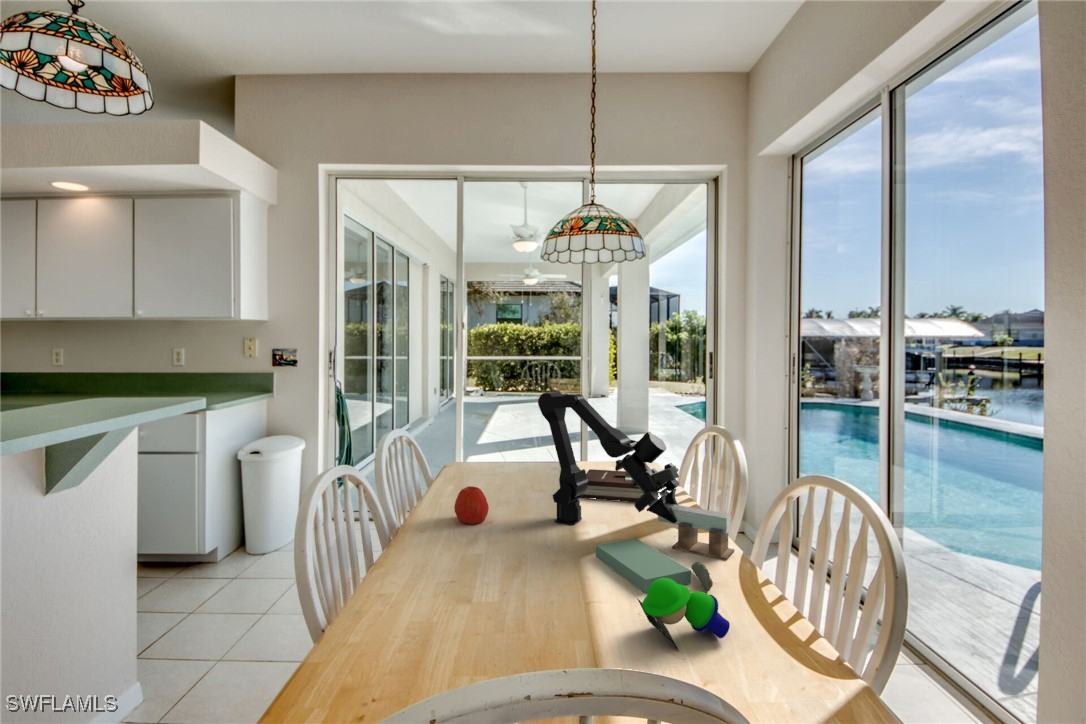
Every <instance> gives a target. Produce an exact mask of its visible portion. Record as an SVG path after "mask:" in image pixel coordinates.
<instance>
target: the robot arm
mask: <svg viewBox="0 0 1086 724" xmlns="http://www.w3.org/2000/svg"><path fill="white" fill-rule="evenodd" d="M537 405H538V408H539V410H540V412H541V414H542V415H541V416H543V417H544V419H545V420H546V421H547V423H548V424H549V428H550V432H551V436H552V440H553V444H554V447H555V452H556V456H557V461H558V464H559V467H560V472H559V477H558V482H559V488H558V490H557V491H555V492H554V494H552V499H553V502H554V503H556V518H555V519H554V520H553V521H554V522H555V523H559V524H566V525H573V526H575V525H576V524H577V523H579V521H580V522H581V520H582V519H583V518H582V505H580V504H581V503H580V501H581V500H580V499H582V496H583V493H585V492H586V490H587V488H588V484H587V483H588V482H589V481H588V479H587V477H586V473H587V471H586V469H585V468H584V469H580V467H579V466H578V464H577V462H576V458H575V455H574V451H573V450H574V449H573V447H572V443H571V439H570V436H569V430H568V428H567V424H566V419H565V418H566V412H567V409H568V408H571V409H572V411H574V413H576V415H578V417H579V419H581V421H583V422H584V423H585V425H587V427H589V429H590V430H591V431H593V433H594V434H595V435H596V437H597V438H598V439H599V444H600V446H601V448H602V449H603V450H604V452H605V453H606V454H607V455H608V456H609V457H610V458H615V459H616V458H620V457H621V456H623V458H621V459H617V460H615V467H614V471H621V470H622V469H623V471H626V472H627V474H628V475H629V476H630V477H631V479H632V480H633V481H634V483H633V486H634V487H636V486H638V487H639V489H640V490H641V491H642V492H643V495H642V496H641V497H640V498H639V499H637V500H636V501H635V502H634V508H635V509H636V510H637V512H638V513H641V512H643V511H644V510H645V508H646V512H650V513H653V514H655V515H657V517H658V516H660V517H662V518H664V519H666V520H668V521H670V522H672V523H676V522H677V520H676V518H675V516H674V515H673V513H672V512H671V510H670V509H669V507H668V506H667V504H666V503H669V504H675V505H679V504H678V503H677V502H678V501H677V500H676V491H677V487H679V486H680V483H679V481H678V480H677V478H679V477H680V476H679V467H676V465H674V464H673V463H672V462H671V463H668V464H665V465H664V468H663V469H662V470H659V471H658V470H657V469H656V468H650V467H649V465H648V464H652V463H654V462H655V461H656V460H657V459H658V458H659V457H660V456H661V455H662V454H663V453H664V452H665V451H666V450H667V446H666V445H667V444H666V443H665V442H664V440H663V439H662V438H660V437H659V436H657V435H656V434H653V433H652V432H651V431H647V432H646V433H644V434H643V436H642V437H641V438H640V439H639V440H634V439H631V438H630V437H629V436H628V435H626V434H625V433H624V432H623V431H621V430H619V429H617V428H616V427H614V426H612V425H611V424H609V423H608V422H607V421H606V419H605V418H604V417H602V415H601V414H600V413H599V412H598V411H597V410H596V409H595V408H594V407H593V406H592V405H591V404H590V403H589V402H588V401H587V400H586V398H585V397H584V395H582V394H581V393H573V394H572V393H570V394H569V393H566V394H563V393H562V392H560V391H549V392H548V391H547V392H544V393H541V394H540V395H539V398H538V400H537ZM631 452H633V453H631ZM629 453H631V454H629ZM647 463H648V464H647ZM647 507H648V508H647Z"/></svg>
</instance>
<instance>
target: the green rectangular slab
mask: <svg viewBox="0 0 1086 724" xmlns="http://www.w3.org/2000/svg"><path fill="white" fill-rule="evenodd" d="M595 558H597V559H598V560H599V561H601V562H603V564H605V565H607V566H608V567H609V568H610V569H612V570H613V571H614V572H616V573H618V574H619V575H620V576H621V577H623V578H624V579H625V580H626V581H627V582H630V583H631V584H632V585H634V586H635V587H636V588H638V589H639V590H640V591H641V592H643V593H645V594H647V591H648V588H649V586H650V585H651V583H652V582H654V581H655V580H657V579H660V578H668V579H671V580H673V581H675V582H676V583H677V584H681V585H684V586H686V585H690V584H691V583H692V569H689V568H688V567H686V566H684V565H683V564H681V563H680V562H677V561H676V560H675V559H672V558H671V557H669V556H668V555H665V554H664V553H662V552H661V551H659V550H657V549H655V548H654V547H652V546H650V545H648V544H647V543H645V542H644V541H642V540H640V539H638V538H637V537H634V538H629V539H628V538H627V539H623V540H617V541H611V542H609V541H608V542H605V543H599V544H595Z"/></svg>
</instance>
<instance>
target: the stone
mask: <svg viewBox="0 0 1086 724" xmlns="http://www.w3.org/2000/svg"><path fill="white" fill-rule="evenodd" d="M690 568H691V569H690V570H691V571H692V573H694V574H695V576H696V578H697V580H698V581H699V583H700V585H701V587H702V588H704V589H703V590H704V592H705V591H706V593H709V592H710V590H711V588H712V587H713V584H714V583H713V579H712V578H711V576H710V572H709V570H708V568H707V566H706V565H705V564H704V563H702V562H700V561H695V562H694V563H692V564H691V567H690Z"/></svg>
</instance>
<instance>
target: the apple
mask: <svg viewBox="0 0 1086 724" xmlns="http://www.w3.org/2000/svg"><path fill="white" fill-rule="evenodd" d="M453 507H454V509H453V510H454V513H455V516H456V518H457V520H459V522H460V523H462V524H467V523H468V524H469V525H477V523H478V524H482V523H483V522H485V520H486V518H487V516H488V515H489V503H488V501H487V497H486V496H485V494H484V492H483V490H482V489H481V488H479V487H477V486H474V485H473V486H470V485H469V486H466V487H464V488H461V490H460V491H459V492H458V495H457V496H456V499H455V501H454V506H453Z"/></svg>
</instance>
